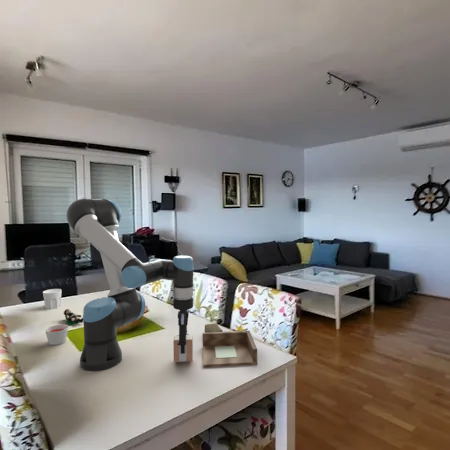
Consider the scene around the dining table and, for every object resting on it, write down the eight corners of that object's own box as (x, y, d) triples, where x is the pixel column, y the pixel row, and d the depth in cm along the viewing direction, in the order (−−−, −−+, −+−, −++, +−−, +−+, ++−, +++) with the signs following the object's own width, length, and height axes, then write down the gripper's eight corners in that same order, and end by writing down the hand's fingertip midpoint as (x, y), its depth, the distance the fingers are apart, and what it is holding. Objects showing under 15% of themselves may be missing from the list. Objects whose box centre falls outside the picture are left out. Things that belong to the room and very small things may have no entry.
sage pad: (216, 358, 125) (216, 357, 125) (214, 347, 135) (214, 346, 135) (237, 357, 125) (237, 356, 125) (234, 346, 135) (234, 345, 135)
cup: (50, 304, 202) (50, 288, 202) (65, 305, 201) (65, 289, 200) (39, 309, 192) (38, 292, 192) (55, 310, 191) (54, 293, 190)
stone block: (211, 343, 141) (211, 332, 141) (204, 334, 152) (203, 323, 152) (224, 341, 143) (223, 330, 143) (215, 332, 154) (215, 322, 154)
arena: (203, 367, 120) (203, 351, 120) (202, 346, 138) (202, 332, 138) (257, 364, 122) (257, 348, 121) (249, 344, 139) (249, 330, 139)
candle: (42, 342, 144) (42, 328, 144) (64, 336, 151) (63, 323, 151) (50, 348, 138) (49, 333, 138) (72, 341, 145) (71, 327, 145)
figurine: (72, 321, 162) (58, 309, 171) (71, 331, 163) (57, 319, 172) (87, 316, 168) (73, 306, 177) (86, 327, 169) (72, 316, 178)
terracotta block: (173, 361, 122) (173, 340, 121) (174, 355, 127) (174, 334, 126) (192, 360, 122) (192, 339, 122) (192, 354, 127) (192, 334, 127)
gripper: (192, 304, 114) (192, 368, 116) (193, 290, 132) (193, 346, 134) (171, 304, 114) (171, 369, 115) (174, 290, 132) (174, 347, 133)
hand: (183, 357), depth 125 cm, fingers closed on terracotta block, 5 cm apart
